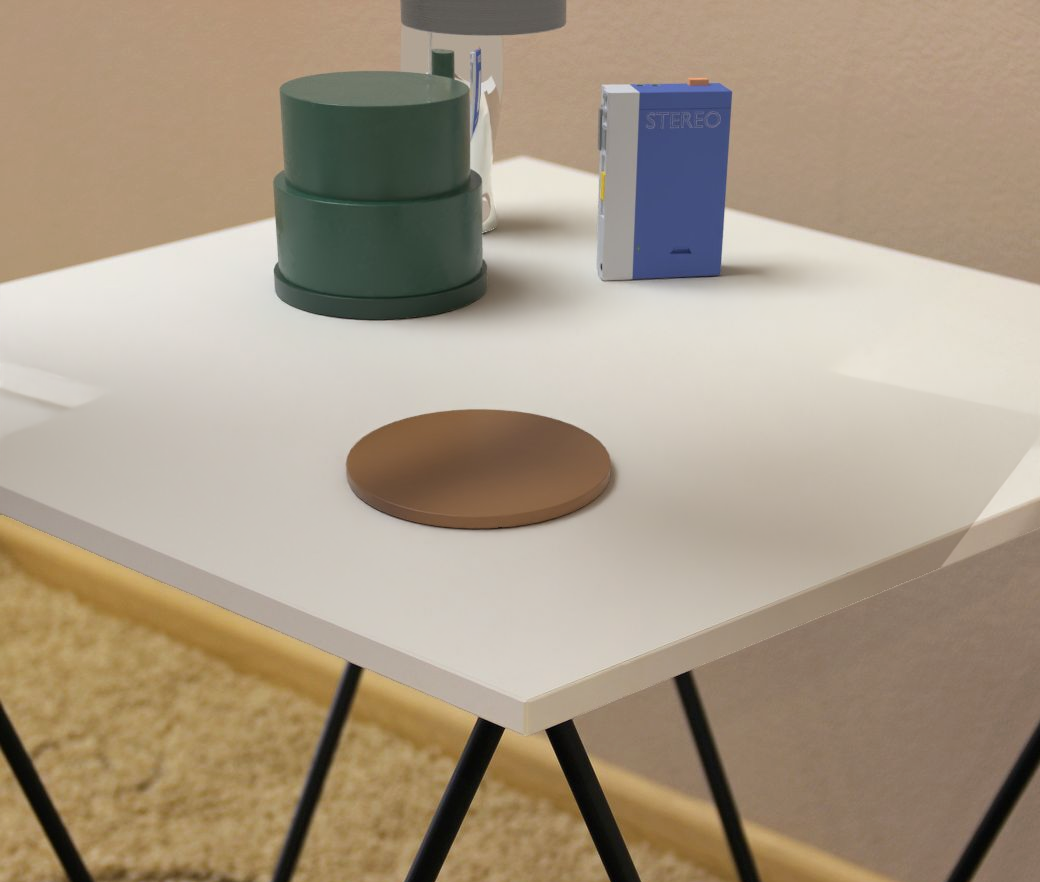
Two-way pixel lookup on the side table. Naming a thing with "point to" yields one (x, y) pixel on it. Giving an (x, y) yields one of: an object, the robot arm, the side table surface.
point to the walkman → (662, 179)
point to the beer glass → (484, 75)
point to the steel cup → (484, 16)
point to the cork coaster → (478, 468)
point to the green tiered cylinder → (377, 196)
